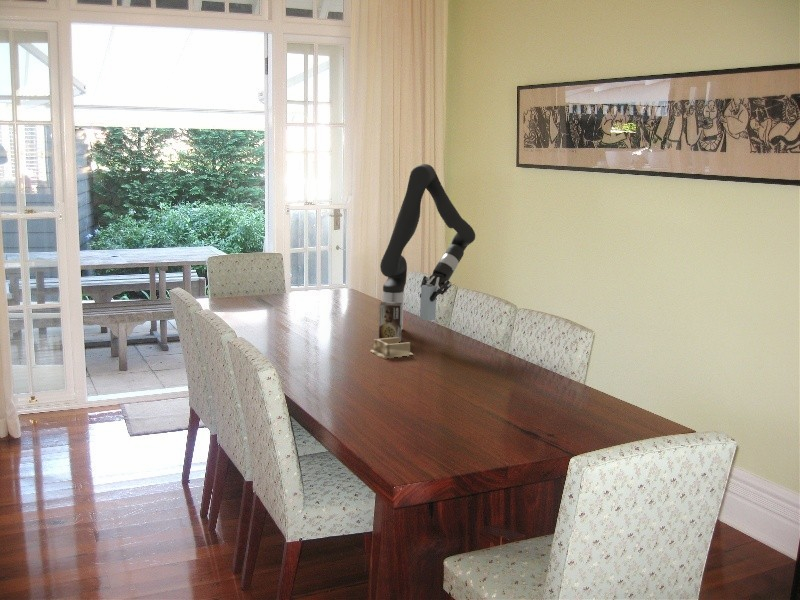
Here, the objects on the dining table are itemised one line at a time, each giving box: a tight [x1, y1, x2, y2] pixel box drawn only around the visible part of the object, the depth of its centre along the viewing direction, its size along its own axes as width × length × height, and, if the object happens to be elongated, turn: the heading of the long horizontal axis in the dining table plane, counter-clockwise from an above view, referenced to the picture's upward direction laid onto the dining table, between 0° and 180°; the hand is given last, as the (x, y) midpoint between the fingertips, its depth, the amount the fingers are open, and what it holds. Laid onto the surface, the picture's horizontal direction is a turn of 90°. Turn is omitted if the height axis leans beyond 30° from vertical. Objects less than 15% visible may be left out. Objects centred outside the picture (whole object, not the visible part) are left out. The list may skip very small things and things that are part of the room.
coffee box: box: [378, 301, 402, 343], centre depth 370 cm, size 9×6×16 cm
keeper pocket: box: [369, 337, 414, 360], centre depth 350 cm, size 12×13×5 cm
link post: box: [419, 284, 437, 322], centre depth 361 cm, size 4×4×15 cm
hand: (426, 299), depth 360 cm, fingers closed on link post, 4 cm apart
